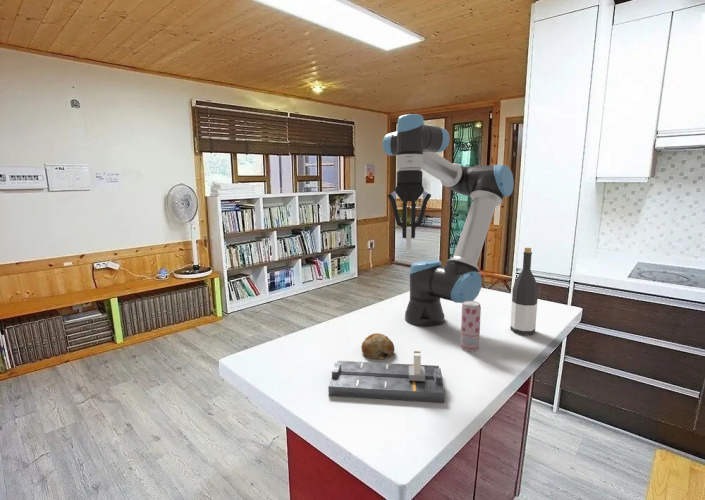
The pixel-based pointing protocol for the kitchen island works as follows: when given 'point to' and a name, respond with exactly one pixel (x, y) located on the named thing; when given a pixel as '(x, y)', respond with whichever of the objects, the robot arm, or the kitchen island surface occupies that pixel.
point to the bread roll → (377, 346)
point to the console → (385, 382)
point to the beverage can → (470, 326)
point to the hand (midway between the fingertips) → (408, 248)
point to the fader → (417, 368)
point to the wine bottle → (524, 299)
